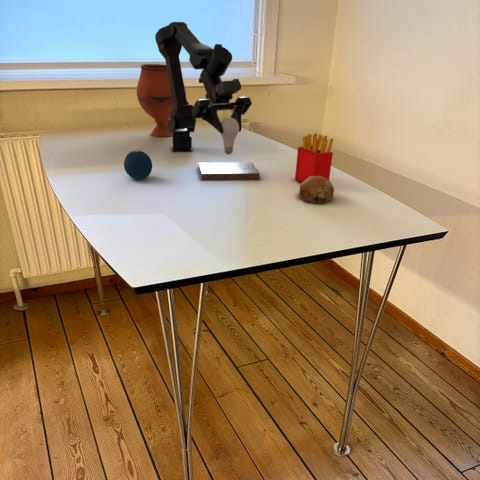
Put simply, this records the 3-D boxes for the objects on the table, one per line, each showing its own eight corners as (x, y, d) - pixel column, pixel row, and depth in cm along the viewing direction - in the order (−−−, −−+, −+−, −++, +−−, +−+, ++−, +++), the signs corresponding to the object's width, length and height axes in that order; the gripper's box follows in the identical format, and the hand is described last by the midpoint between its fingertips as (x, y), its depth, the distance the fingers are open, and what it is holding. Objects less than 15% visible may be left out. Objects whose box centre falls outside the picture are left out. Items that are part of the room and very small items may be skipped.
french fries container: (311, 177, 158) (317, 132, 151) (329, 185, 152) (336, 138, 144) (293, 180, 155) (298, 133, 148) (311, 188, 149) (317, 140, 141)
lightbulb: (231, 158, 151) (232, 120, 145) (214, 154, 154) (215, 117, 148) (241, 154, 156) (243, 117, 149) (225, 150, 158) (226, 114, 152)
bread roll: (332, 209, 145) (338, 181, 144) (328, 204, 135) (334, 175, 134) (299, 204, 147) (304, 176, 146) (293, 199, 137) (299, 170, 136)
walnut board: (201, 180, 151) (201, 173, 150) (198, 169, 161) (198, 162, 160) (258, 179, 154) (259, 173, 153) (252, 168, 164) (252, 162, 163)
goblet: (184, 140, 192) (182, 69, 179) (135, 138, 192) (129, 67, 178) (189, 130, 208) (187, 64, 195) (143, 128, 208) (139, 61, 194)
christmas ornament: (158, 178, 151) (157, 145, 146) (138, 185, 145) (136, 150, 140) (139, 173, 155) (137, 140, 150) (119, 179, 149) (116, 145, 144)
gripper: (195, 69, 140) (214, 118, 138) (250, 67, 148) (268, 113, 147) (183, 94, 150) (200, 140, 148) (235, 91, 158) (252, 135, 157)
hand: (231, 131), depth 150 cm, fingers closed on lightbulb, 6 cm apart
